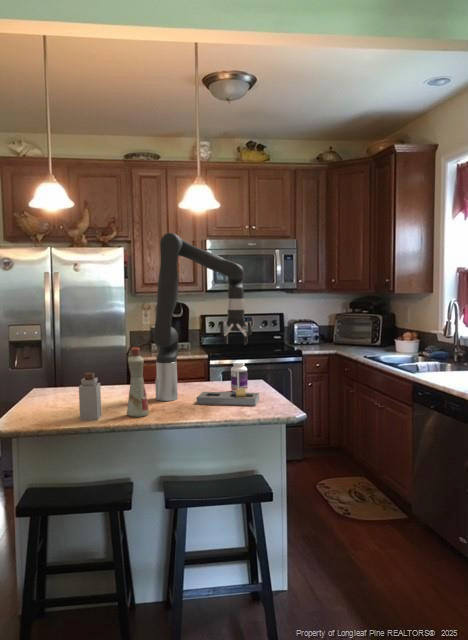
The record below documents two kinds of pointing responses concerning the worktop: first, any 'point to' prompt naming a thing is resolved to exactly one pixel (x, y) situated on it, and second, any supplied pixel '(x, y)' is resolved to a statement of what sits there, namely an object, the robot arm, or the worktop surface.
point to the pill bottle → (238, 376)
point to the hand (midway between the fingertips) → (235, 344)
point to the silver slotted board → (227, 398)
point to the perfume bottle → (89, 398)
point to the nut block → (241, 392)
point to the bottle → (137, 386)
